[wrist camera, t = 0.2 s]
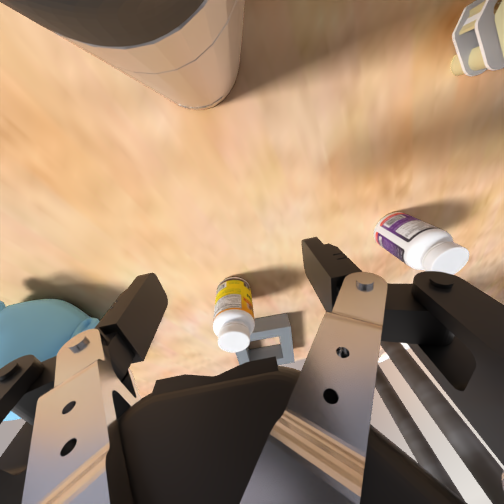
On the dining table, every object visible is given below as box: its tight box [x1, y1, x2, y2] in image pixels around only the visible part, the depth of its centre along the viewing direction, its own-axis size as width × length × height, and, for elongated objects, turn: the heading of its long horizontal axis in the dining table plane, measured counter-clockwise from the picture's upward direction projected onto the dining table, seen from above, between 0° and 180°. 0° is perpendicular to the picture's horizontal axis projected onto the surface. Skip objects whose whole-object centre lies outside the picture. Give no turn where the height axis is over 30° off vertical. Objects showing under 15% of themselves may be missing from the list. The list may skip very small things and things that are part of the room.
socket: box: [236, 313, 294, 365], centre depth 39 cm, size 10×10×3 cm
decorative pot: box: [0, 299, 100, 421], centre depth 29 cm, size 16×16×14 cm
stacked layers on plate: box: [451, 0, 504, 76], centre depth 18 cm, size 10×9×6 cm
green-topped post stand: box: [375, 341, 504, 504], centre depth 27 cm, size 15×11×29 cm
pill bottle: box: [374, 212, 469, 275], centre depth 26 cm, size 5×5×10 cm
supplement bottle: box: [213, 277, 255, 352], centre depth 29 cm, size 6×6×10 cm
